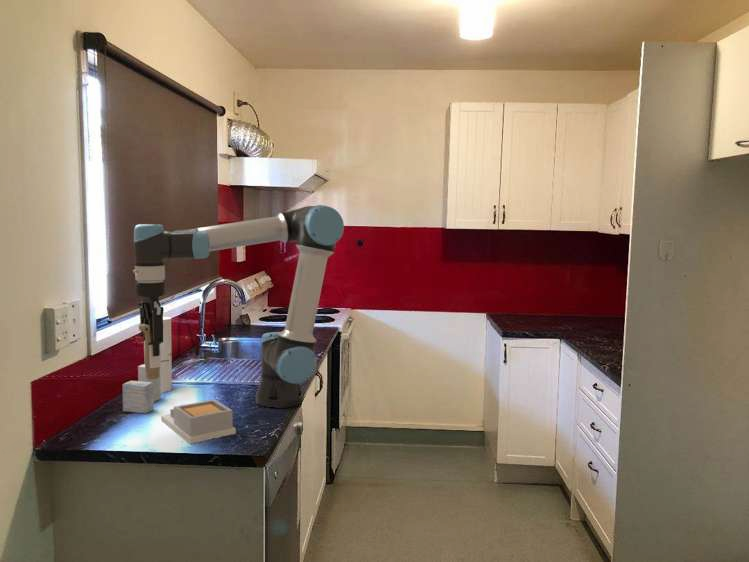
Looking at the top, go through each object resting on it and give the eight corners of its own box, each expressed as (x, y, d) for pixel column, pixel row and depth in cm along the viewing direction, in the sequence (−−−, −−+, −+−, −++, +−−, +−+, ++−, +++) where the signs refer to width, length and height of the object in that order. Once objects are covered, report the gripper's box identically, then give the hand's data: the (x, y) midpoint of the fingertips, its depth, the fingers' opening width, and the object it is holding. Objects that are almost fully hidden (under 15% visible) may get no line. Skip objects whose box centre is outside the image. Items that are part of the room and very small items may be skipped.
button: (210, 412, 169) (210, 404, 169) (222, 420, 163) (222, 411, 163) (183, 417, 164) (183, 408, 164) (194, 425, 158) (194, 416, 158)
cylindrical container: (175, 387, 205) (175, 317, 202) (164, 393, 198) (164, 320, 195) (156, 386, 206) (156, 316, 204) (145, 392, 199) (144, 319, 197)
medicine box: (154, 409, 181) (153, 382, 180) (145, 414, 177) (145, 386, 176) (131, 407, 183) (131, 380, 182) (122, 411, 179) (122, 383, 178)
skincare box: (150, 397, 193) (149, 361, 192) (161, 398, 192) (160, 362, 191) (137, 402, 187) (137, 366, 186) (149, 404, 186) (148, 367, 185)
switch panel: (203, 412, 180) (203, 391, 179) (235, 433, 162) (235, 410, 162) (161, 420, 171) (161, 398, 171) (190, 443, 154) (189, 419, 154)
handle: (146, 375, 165) (145, 322, 163) (168, 376, 164) (166, 323, 162) (137, 380, 160) (135, 325, 158) (159, 381, 159) (157, 326, 157)
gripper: (126, 279, 163) (129, 361, 166) (145, 285, 150) (148, 374, 152) (153, 277, 168) (156, 357, 170) (174, 283, 155) (177, 370, 157)
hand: (152, 365), depth 161 cm, fingers closed on handle, 4 cm apart
